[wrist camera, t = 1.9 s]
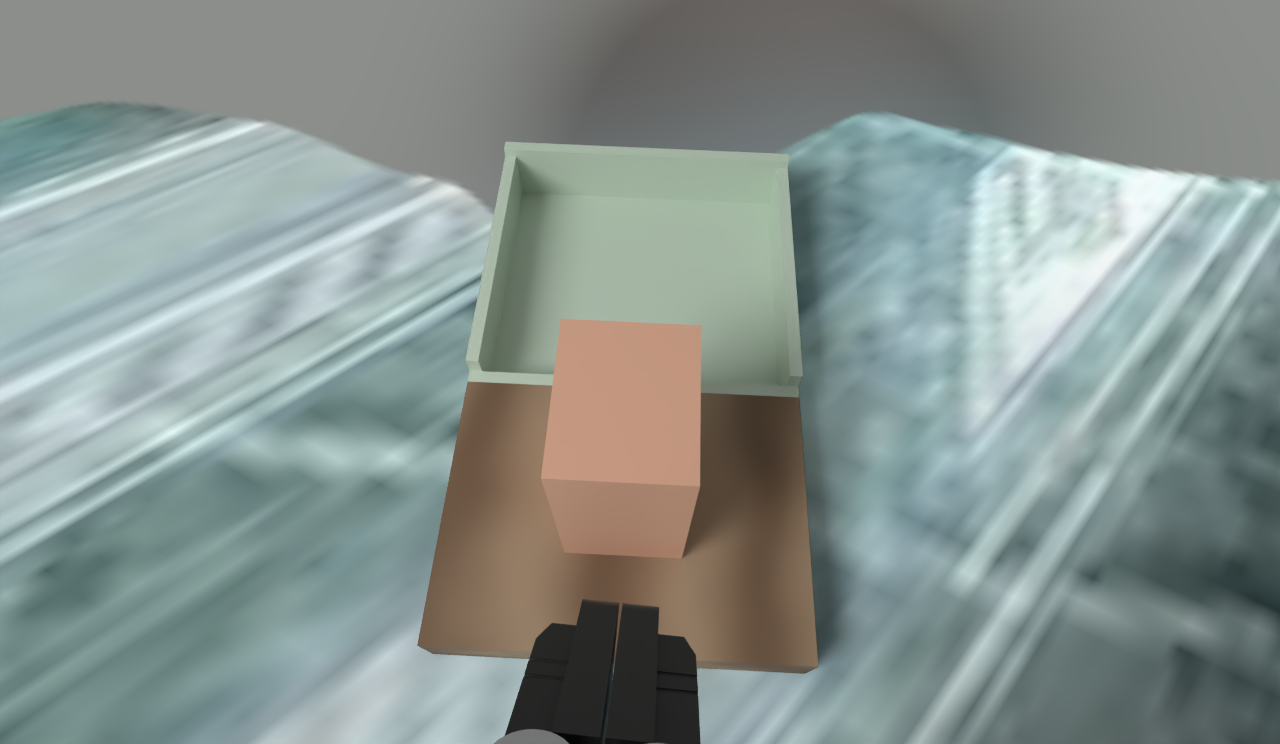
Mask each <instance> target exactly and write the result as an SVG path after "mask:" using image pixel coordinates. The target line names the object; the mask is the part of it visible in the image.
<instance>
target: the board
mask: <svg viewBox="0 0 1280 744" xmlns="http://www.w3.org/2000/svg"><path fill="white" fill-rule="evenodd" d="M551 393H552V386H551V385H530V384H509V383H489V382H468V383H467V388H466V393H465V398H464V404H463V409H462V414H461V419H460V425H459V430H458V435H457V440H456V445H455V451H454V456H453V461H452V466H451V472H450V477H449V482H448V487H447V493H446V498H445V503H444V508H443V514H442V519H441V524H440V529H439V535H438V540H437V545H436V550H435V556H434V561H433V566H432V571H431V577H430V582H429V587H428V592H427V598H426V603H425V608H424V613H423V619H422V624H421V629H420V634H419V640H418V645H417V646H419V647H421V648H423V649H425V650H427V651H429V652H431V653H432V654H447V655H466V656H485V657H503V658H522V659H530V655H531V652H532V649H533V646H534V642H535V639H536V638H537V637H538V636H539V635H540V634H541V633H542V632H543V631H544V630H545V629H546V628H547V627H548V626H549V625H550V624H551V623H559V624H568V625H576V624H577V620H578V616H579V611H580V607H581V603H582V599H589V600H598V601H607V602H617V603H619V614H618V625H617V636H616V647H615V657H616V649H617V642H618V634H619V626H620V618H621V611H622V603H628V604H637V605H646V606H656V607H659V627H658V634H663V635H672V636H681V637H685V639H686V640H687V642H688V643H689V645H690V647H691V648H692V650H693V651H694V653H695V654H696V664H697V668H709V669H728V670H747V671H766V672H784V673H803V674H805V673H807V672H809V671H811V670H813V669H815V668H817V667H818V656H817V642H816V628H815V613H814V599H813V585H812V570H811V556H810V542H809V527H808V513H807V499H806V485H805V470H804V456H803V442H802V427H801V413H800V399H799V397H779V396H758V395H738V394H717V393H701V425H700V489H699V493H698V497H697V501H696V505H695V508H694V512H693V516H692V520H691V524H690V528H689V532H688V536H687V540H686V544H685V548H684V552H683V556H682V559H678V558H659V557H639V556H620V555H600V554H581V553H565V552H564V549H563V546H562V543H561V540H560V537H559V534H558V531H557V527H556V524H555V521H554V518H553V515H552V512H551V509H550V506H549V502H548V499H547V496H546V493H545V490H544V487H543V484H542V481H541V474H542V465H543V457H544V449H545V441H546V433H547V425H548V417H549V409H550V401H551ZM615 657H614V663H615Z"/></svg>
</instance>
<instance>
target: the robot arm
mask: <svg viewBox="0 0 1280 744" xmlns="http://www.w3.org/2000/svg"><path fill="white" fill-rule="evenodd" d="M618 614H619V603H617V602H607V601H598V600H589V599H582V603H581V607H580V611H579V616H578V620H577V624H576V625H568V624H559V623H551V624H550V625H549V626H548V627H547V628H546V629H545V630H544V631H543V632H542V633H541V634H540V635H539V636H538V637H537V638H536V639H535V642H534V646H533V649H532V652H531V655H530V660H529V661H528V664H527V668H526V671H525V675H524V677H523V680H522V683H521V686H520V690H519V693H518V696H517V699H516V702H515V705H514V708H513V712H512V715H511V718H510V721H509V724H508V727H507V730H506V734H505V736H504V737H502V738H500V739H499V740H498V741H496V742H495V743H494V744H700V726H699V706H698V685H697V664H696V654H695V653H694V651H693V650H692V648H691V647H690V645H689V643H688V642H687V640H686V639H685V637H681V636H672V635H663V634H658V627H659V607H656V606H646V605H637V604H628V603H622V611H621V618H620V626H619V634H618V642H617V649H616V657H615V647H616V636H617V625H618ZM614 657H615V665H614ZM613 668H614V673H613ZM612 679H613V680H612Z"/></svg>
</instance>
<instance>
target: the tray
mask: <svg viewBox="0 0 1280 744" xmlns="http://www.w3.org/2000/svg"><path fill="white" fill-rule="evenodd" d="M504 151H505V161H504V166H503V171H502V176H501V181H500V187H499V192H498V197H497V202H496V207H495V212H494V217H493V222H492V228H491V233H490V238H489V243H488V248H487V253H486V258H485V263H484V268H483V274H482V279H481V284H480V289H479V294H478V299H477V304H476V309H475V314H474V320H473V325H472V330H471V335H470V340H469V345H468V350H467V355H466V363H467V365H468V368H469V370H470V372H469V377H468V382H489V383H509V384H530V385H551V386H552V384H553V376H554V368H555V360H556V352H557V344H558V336H559V328H560V320H561V319H576V320H597V321H619V322H640V323H661V324H683V325H701V393H717V394H738V395H758V396H779V397H799V385H800V382H801V380H802V378H803V369H802V355H801V342H800V328H799V315H798V301H797V288H796V274H795V261H794V247H793V234H792V220H791V207H790V193H789V180H788V166H789V154H773V153H750V152H726V151H703V150H681V149H657V148H636V147H613V146H612V147H611V146H588V145H567V144H543V143H520V142H505V147H504Z"/></svg>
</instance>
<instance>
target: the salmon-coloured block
mask: <svg viewBox="0 0 1280 744" xmlns="http://www.w3.org/2000/svg"><path fill="white" fill-rule="evenodd" d="M700 425H701V325H683V324H661V323H640V322H619V321H597V320H576V319H561V320H560V328H559V336H558V344H557V352H556V360H555V368H554V376H553V384H552V393H551V401H550V409H549V417H548V425H547V433H546V441H545V449H544V457H543V465H542V474H541V481H542V484H543V487H544V490H545V493H546V496H547V499H548V502H549V506H550V509H551V512H552V515H553V518H554V521H555V524H556V527H557V531H558V534H559V537H560V540H561V543H562V546H563V549H564V552H565V553H581V554H600V555H620V556H639V557H659V558H678V559H682V556H683V552H684V548H685V544H686V540H687V536H688V532H689V528H690V524H691V520H692V516H693V512H694V508H695V505H696V501H697V497H698V493H699V489H700Z"/></svg>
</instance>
